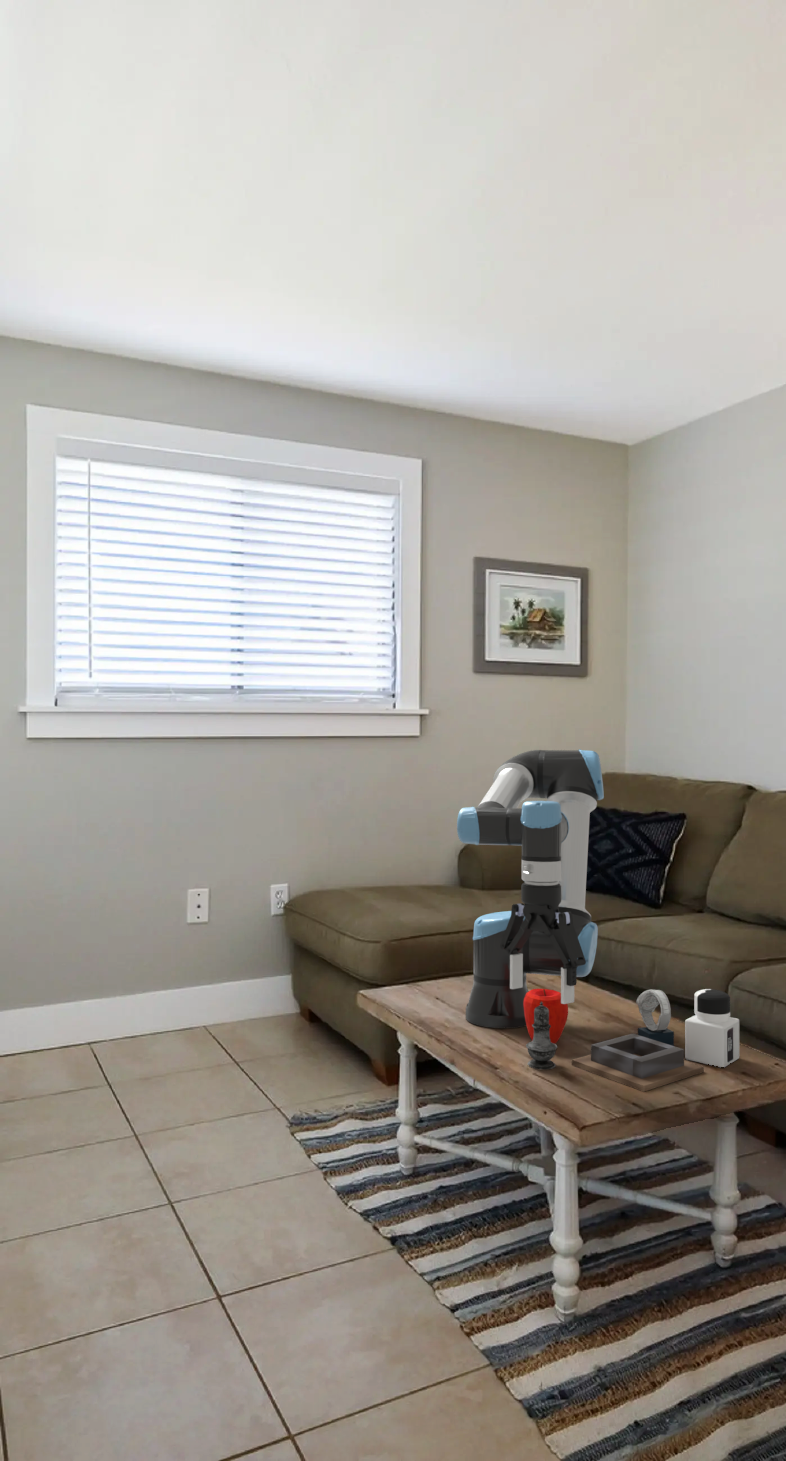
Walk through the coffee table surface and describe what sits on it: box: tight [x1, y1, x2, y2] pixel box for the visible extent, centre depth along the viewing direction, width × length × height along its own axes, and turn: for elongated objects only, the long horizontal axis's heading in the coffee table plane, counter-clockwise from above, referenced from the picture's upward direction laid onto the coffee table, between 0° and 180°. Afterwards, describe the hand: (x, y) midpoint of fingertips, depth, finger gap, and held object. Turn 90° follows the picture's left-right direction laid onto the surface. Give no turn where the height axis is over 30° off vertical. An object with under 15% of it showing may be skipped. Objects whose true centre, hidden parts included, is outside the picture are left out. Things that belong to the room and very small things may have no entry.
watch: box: [635, 988, 675, 1046], centre depth 192 cm, size 6×8×11 cm
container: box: [684, 988, 740, 1068], centre depth 184 cm, size 8×8×13 cm
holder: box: [571, 1033, 705, 1092], centre depth 178 cm, size 17×17×4 cm
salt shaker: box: [525, 1001, 558, 1071], centre depth 180 cm, size 6×6×12 cm
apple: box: [523, 988, 569, 1045], centre depth 194 cm, size 9×9×11 cm
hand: (541, 995), depth 180 cm, fingers open, 13 cm apart
